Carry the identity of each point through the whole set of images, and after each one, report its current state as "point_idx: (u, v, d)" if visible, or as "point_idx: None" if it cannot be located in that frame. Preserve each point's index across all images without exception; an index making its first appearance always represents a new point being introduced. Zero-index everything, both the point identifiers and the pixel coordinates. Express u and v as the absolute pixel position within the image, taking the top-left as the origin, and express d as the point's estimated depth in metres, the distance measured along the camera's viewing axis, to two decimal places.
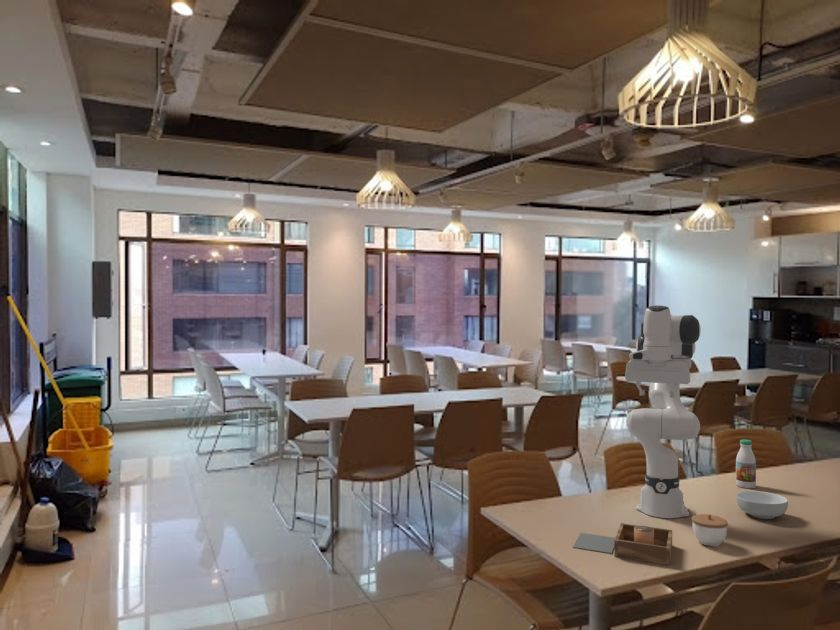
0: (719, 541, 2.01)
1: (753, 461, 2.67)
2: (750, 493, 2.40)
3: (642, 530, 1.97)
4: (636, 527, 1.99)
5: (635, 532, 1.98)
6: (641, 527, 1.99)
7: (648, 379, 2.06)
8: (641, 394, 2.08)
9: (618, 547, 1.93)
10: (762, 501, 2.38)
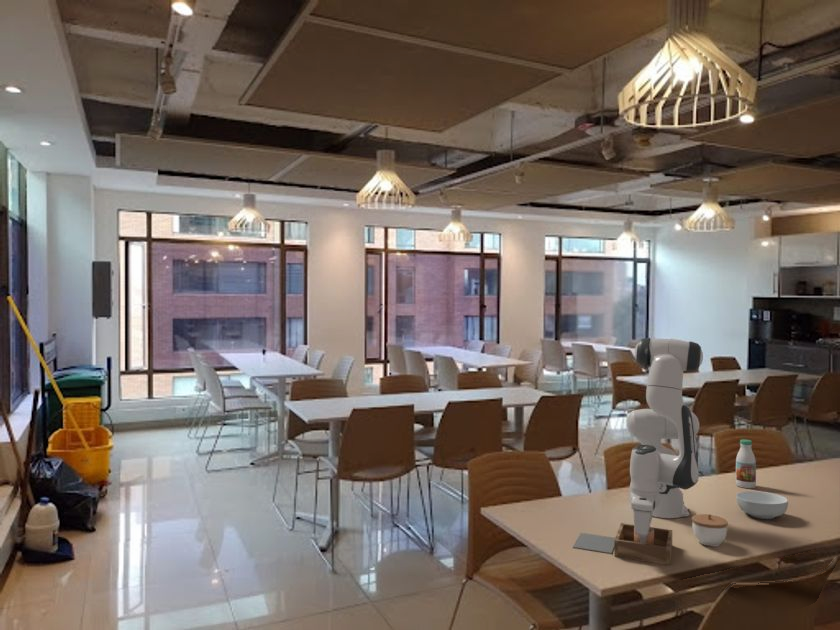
0: (719, 541, 2.01)
1: (753, 461, 2.67)
2: (750, 493, 2.40)
3: None
4: None
5: None
6: None
7: (649, 526, 1.95)
8: None
9: (618, 547, 1.93)
10: (762, 501, 2.38)
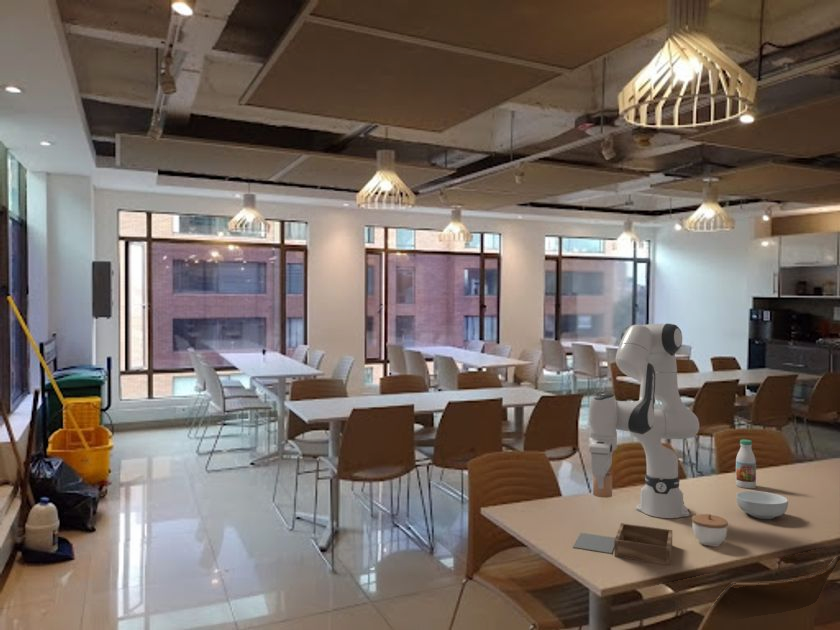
0: (719, 541, 2.01)
1: (753, 461, 2.67)
2: (750, 493, 2.40)
3: None
4: None
5: None
6: None
7: (607, 470, 2.00)
8: (603, 487, 1.99)
9: (618, 547, 1.93)
10: (762, 501, 2.38)
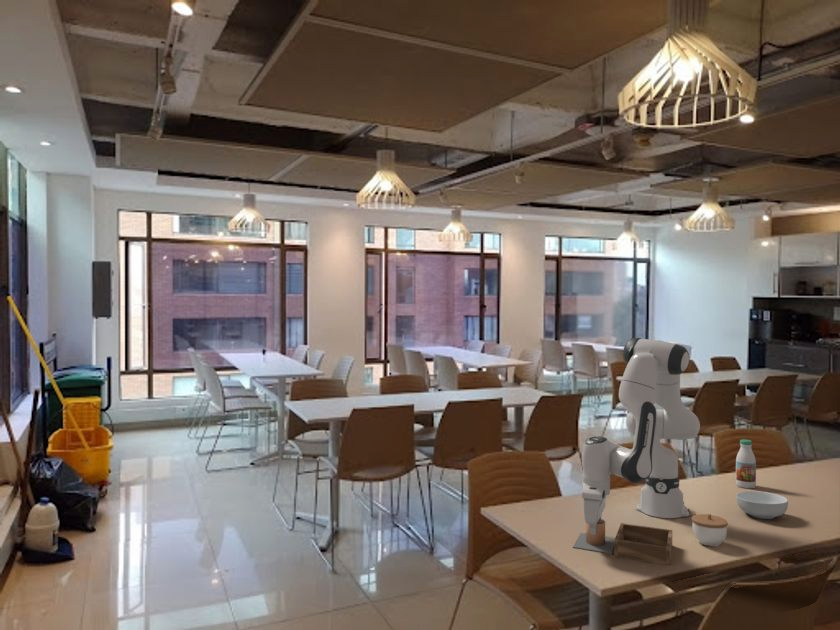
0: (719, 541, 2.01)
1: (753, 461, 2.67)
2: (750, 493, 2.40)
3: None
4: None
5: (587, 524, 2.04)
6: None
7: (600, 515, 2.01)
8: None
9: (618, 547, 1.93)
10: (762, 501, 2.38)
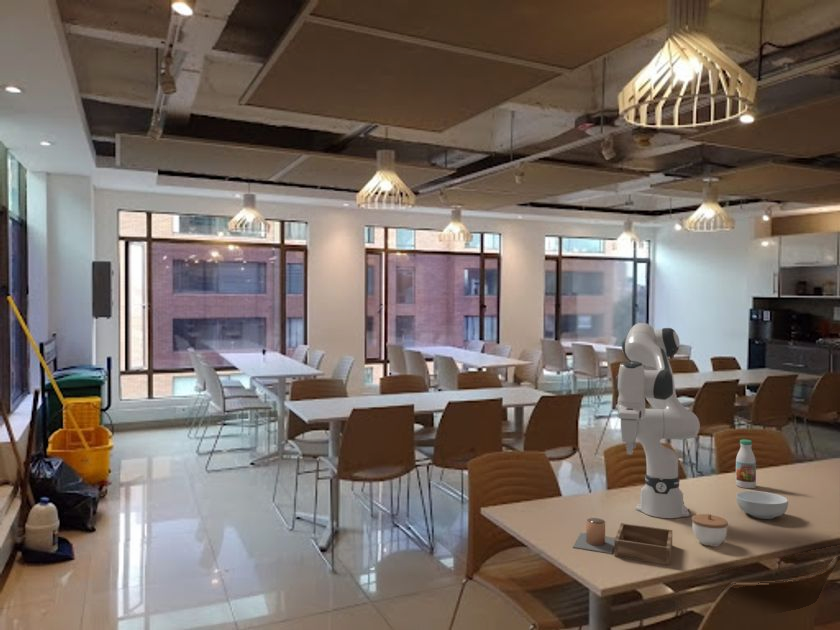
0: (719, 541, 2.01)
1: (753, 461, 2.67)
2: (750, 493, 2.40)
3: (593, 522, 2.03)
4: (588, 519, 2.06)
5: (587, 524, 2.04)
6: (593, 519, 2.06)
7: (636, 436, 2.06)
8: None
9: (618, 547, 1.93)
10: (762, 501, 2.38)
